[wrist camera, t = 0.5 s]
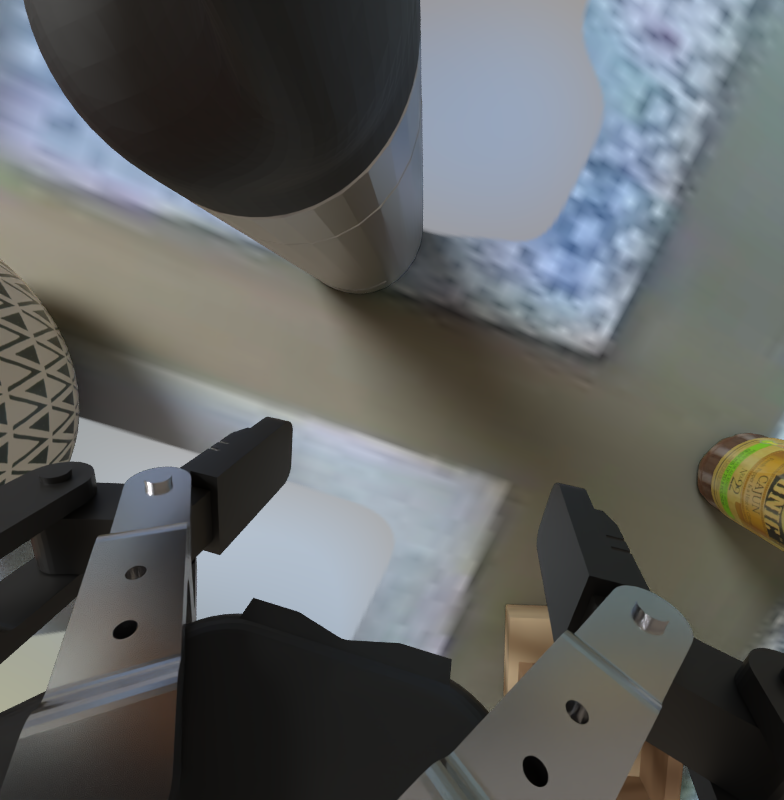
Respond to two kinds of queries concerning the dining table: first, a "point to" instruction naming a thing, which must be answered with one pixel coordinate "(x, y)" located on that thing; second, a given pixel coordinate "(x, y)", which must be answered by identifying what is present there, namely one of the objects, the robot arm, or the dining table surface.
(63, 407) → the planter
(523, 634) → the socket board
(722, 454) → the sauce bottle
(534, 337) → the dining table surface
